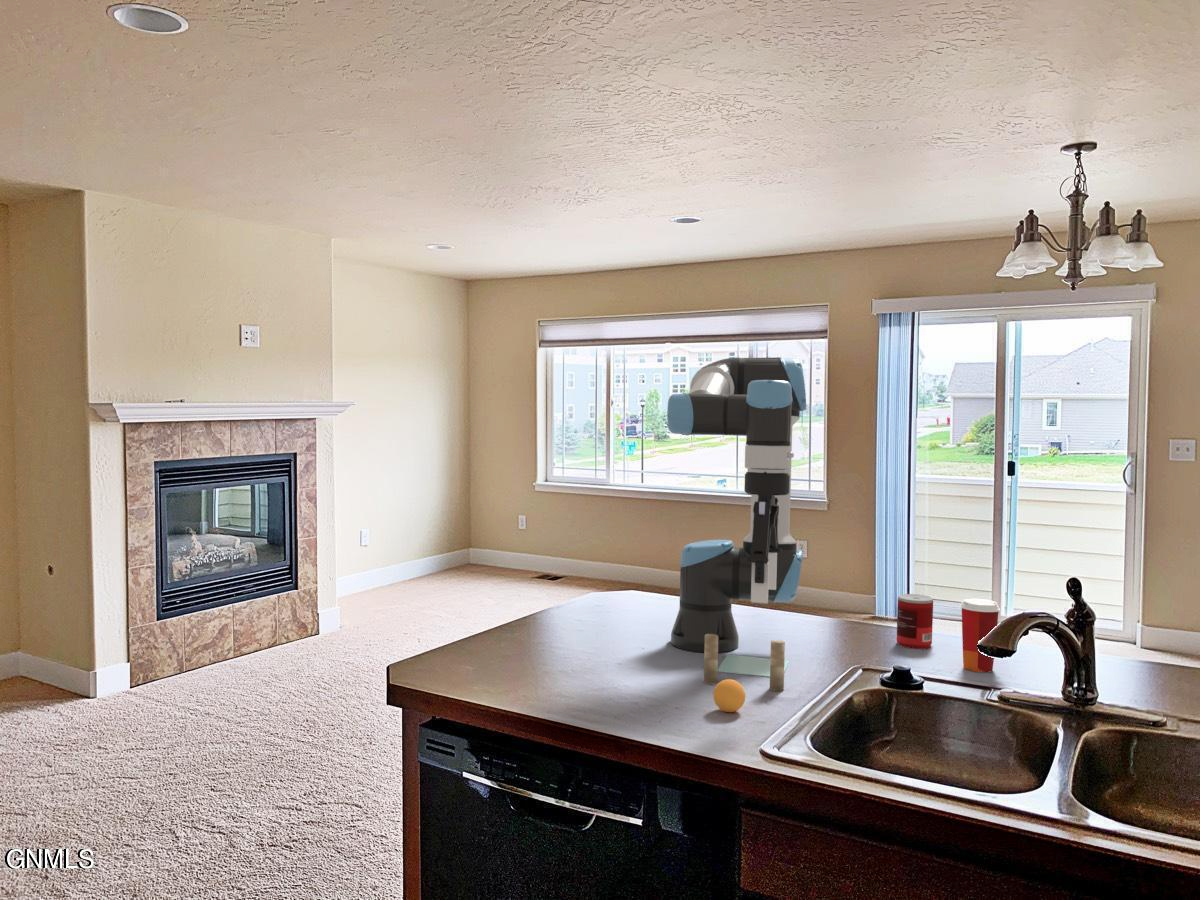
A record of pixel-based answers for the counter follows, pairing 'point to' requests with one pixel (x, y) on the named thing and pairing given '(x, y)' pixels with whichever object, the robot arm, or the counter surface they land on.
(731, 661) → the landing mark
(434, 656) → the counter surface
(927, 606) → the canned food
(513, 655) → the counter surface
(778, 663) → the right post
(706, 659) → the left post
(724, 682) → the ball
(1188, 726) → the counter surface
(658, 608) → the counter surface
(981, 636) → the paper cup
